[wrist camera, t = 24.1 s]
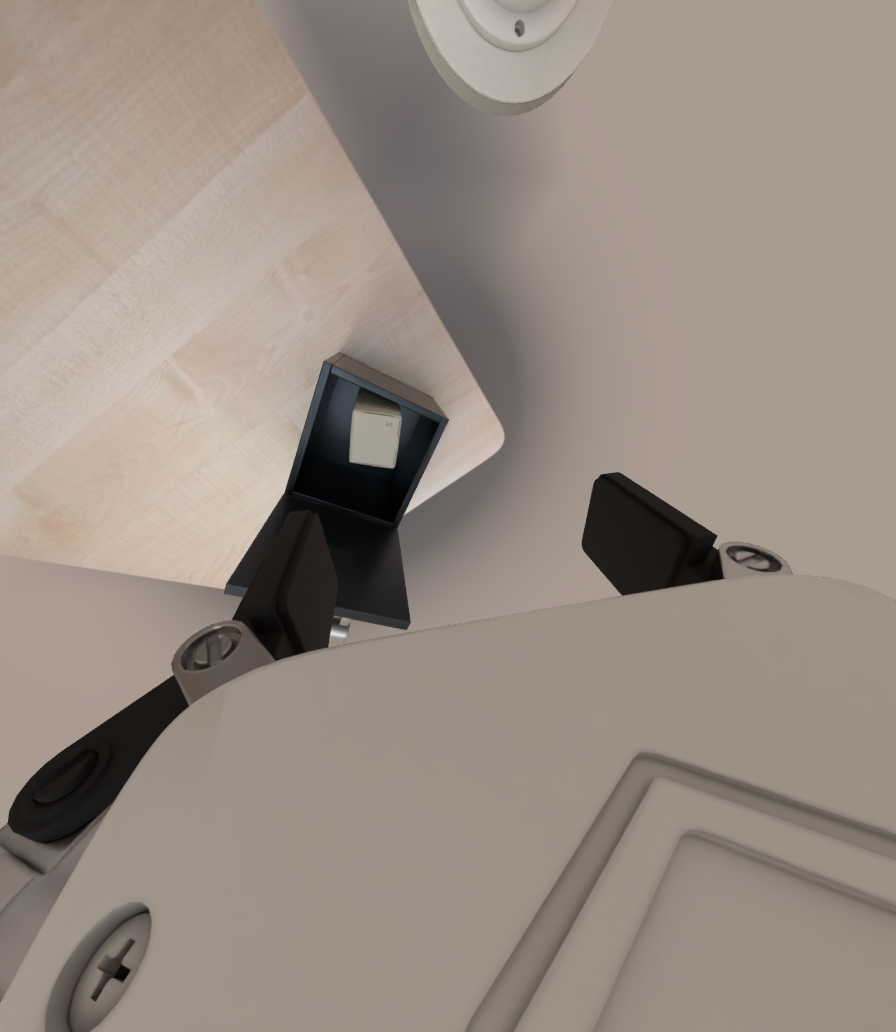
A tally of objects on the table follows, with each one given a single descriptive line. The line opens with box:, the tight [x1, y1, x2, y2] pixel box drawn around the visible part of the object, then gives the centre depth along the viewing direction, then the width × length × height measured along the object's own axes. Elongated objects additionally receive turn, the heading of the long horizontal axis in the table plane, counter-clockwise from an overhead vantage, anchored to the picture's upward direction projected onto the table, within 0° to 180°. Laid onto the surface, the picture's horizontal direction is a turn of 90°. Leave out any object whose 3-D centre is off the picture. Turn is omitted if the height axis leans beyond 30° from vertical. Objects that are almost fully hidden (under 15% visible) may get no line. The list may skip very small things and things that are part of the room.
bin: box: [284, 352, 449, 529], centre depth 37 cm, size 13×12×12 cm
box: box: [349, 387, 402, 468], centre depth 35 cm, size 5×4×13 cm
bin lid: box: [224, 494, 411, 643], centre depth 28 cm, size 14×12×5 cm
